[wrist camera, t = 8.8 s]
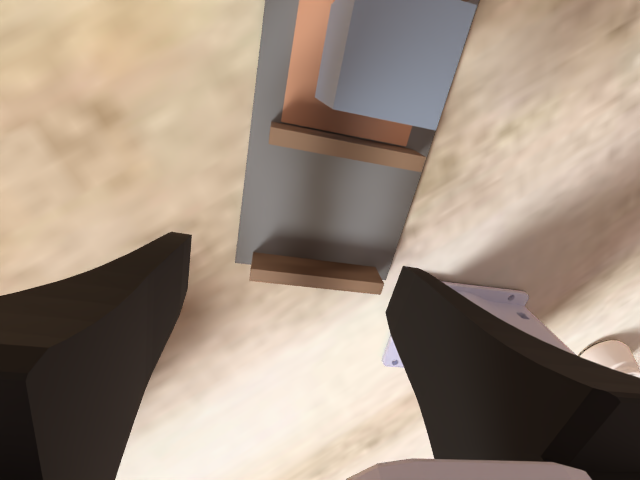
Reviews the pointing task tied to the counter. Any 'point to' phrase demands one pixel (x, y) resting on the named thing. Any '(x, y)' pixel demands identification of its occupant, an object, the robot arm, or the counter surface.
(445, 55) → the plug block
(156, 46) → the counter surface
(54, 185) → the counter surface
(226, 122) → the counter surface
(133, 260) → the robot arm
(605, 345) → the white jar
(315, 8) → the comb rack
